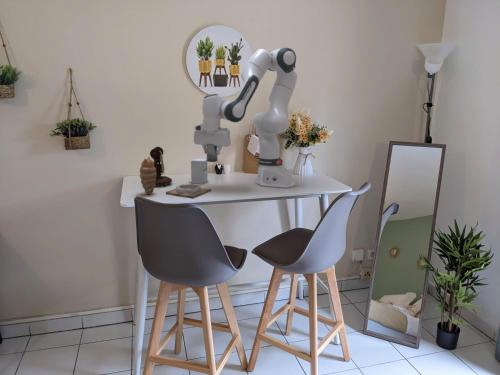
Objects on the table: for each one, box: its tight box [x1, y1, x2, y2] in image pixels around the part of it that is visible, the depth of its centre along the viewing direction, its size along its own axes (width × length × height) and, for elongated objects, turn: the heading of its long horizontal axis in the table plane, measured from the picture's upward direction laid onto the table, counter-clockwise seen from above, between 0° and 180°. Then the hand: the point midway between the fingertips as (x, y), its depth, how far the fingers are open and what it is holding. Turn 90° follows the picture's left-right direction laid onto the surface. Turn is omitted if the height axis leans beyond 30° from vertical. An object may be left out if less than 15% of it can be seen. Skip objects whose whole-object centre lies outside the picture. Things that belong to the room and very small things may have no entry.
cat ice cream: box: [139, 156, 157, 195], centre depth 191 cm, size 9×8×18 cm
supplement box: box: [190, 158, 208, 185], centre depth 218 cm, size 7×7×13 cm
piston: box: [206, 144, 219, 163], centre depth 203 cm, size 6×6×9 cm
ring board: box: [165, 183, 212, 199], centre depth 197 cm, size 16×16×3 cm
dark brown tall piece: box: [149, 146, 173, 188], centre depth 210 cm, size 15×15×20 cm
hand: (212, 154), depth 203 cm, fingers closed on piston, 5 cm apart
